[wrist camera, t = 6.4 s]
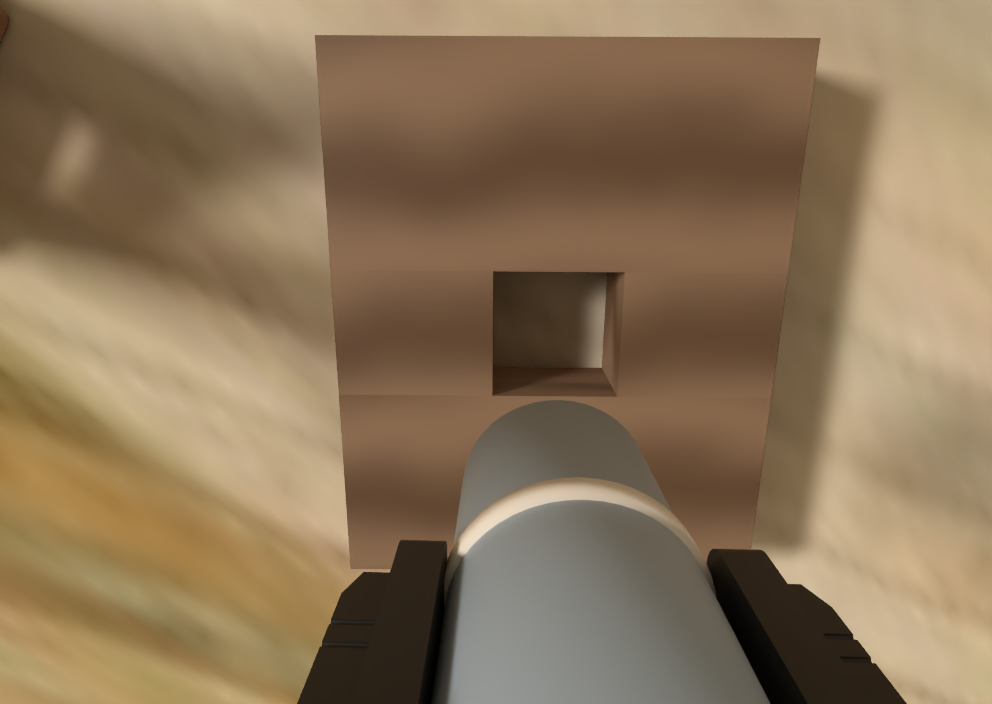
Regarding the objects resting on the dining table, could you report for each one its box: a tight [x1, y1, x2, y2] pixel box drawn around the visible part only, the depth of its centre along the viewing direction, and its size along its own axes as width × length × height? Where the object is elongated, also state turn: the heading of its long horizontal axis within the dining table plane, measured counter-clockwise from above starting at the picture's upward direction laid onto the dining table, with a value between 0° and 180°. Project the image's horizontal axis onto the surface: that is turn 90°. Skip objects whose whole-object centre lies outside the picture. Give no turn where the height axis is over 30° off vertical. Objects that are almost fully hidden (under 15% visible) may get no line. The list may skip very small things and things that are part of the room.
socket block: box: [315, 35, 820, 569], centre depth 27 cm, size 22×18×4 cm
